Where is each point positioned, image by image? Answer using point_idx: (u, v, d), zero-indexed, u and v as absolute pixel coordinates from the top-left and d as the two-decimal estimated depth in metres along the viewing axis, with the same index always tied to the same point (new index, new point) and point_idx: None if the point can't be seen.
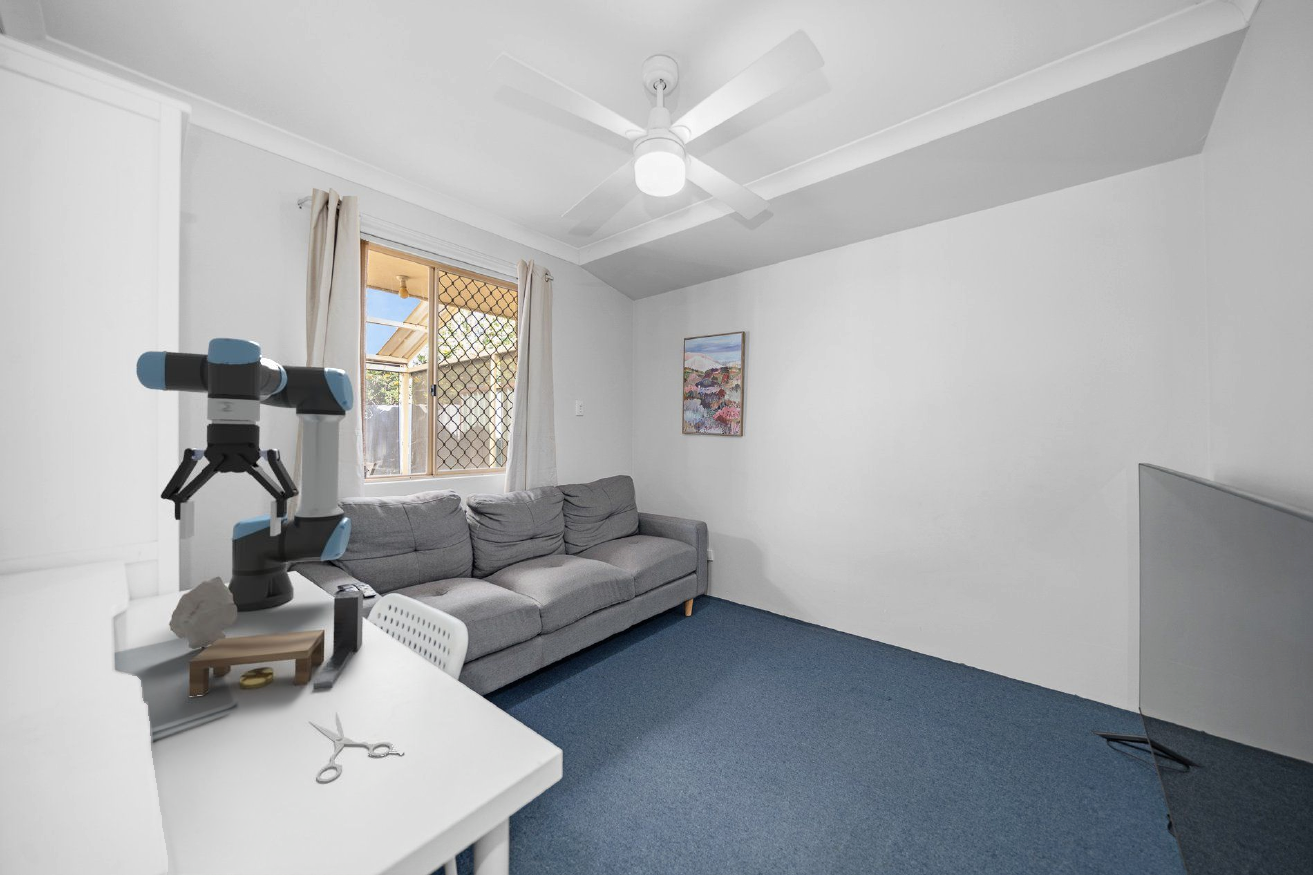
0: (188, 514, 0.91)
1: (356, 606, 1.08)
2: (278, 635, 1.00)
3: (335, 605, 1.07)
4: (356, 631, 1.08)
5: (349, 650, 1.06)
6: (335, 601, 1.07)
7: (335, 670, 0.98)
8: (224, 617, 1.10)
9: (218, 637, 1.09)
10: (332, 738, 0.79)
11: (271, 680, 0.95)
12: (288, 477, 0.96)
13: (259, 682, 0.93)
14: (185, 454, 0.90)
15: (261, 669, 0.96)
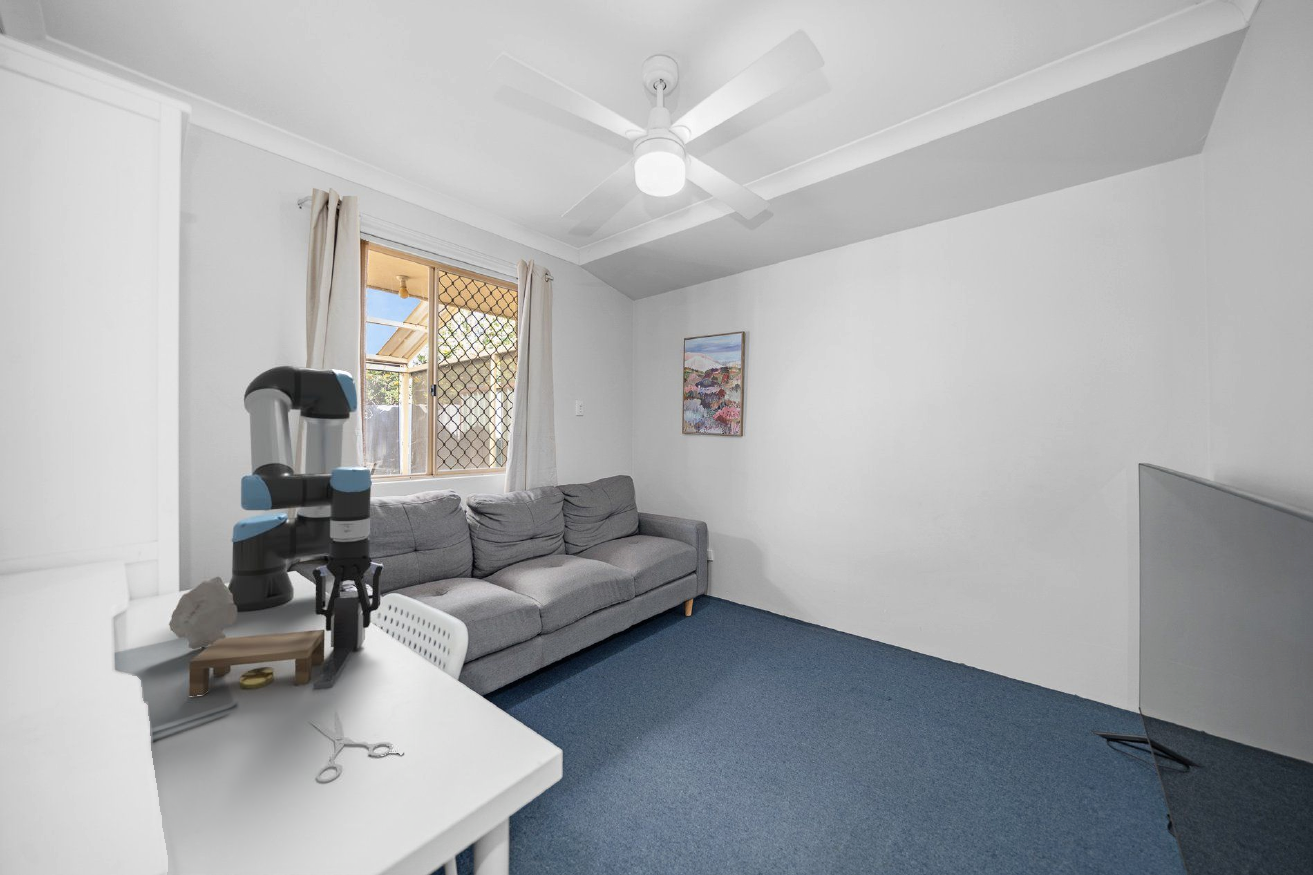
0: None
1: (356, 606, 1.08)
2: (278, 635, 1.00)
3: (335, 605, 1.07)
4: (356, 631, 1.08)
5: (349, 650, 1.06)
6: (335, 601, 1.07)
7: (335, 670, 0.98)
8: (224, 617, 1.10)
9: (218, 637, 1.09)
10: (332, 738, 0.79)
11: (271, 680, 0.95)
12: (379, 591, 1.12)
13: (260, 682, 0.93)
14: (314, 575, 1.06)
15: (261, 669, 0.96)
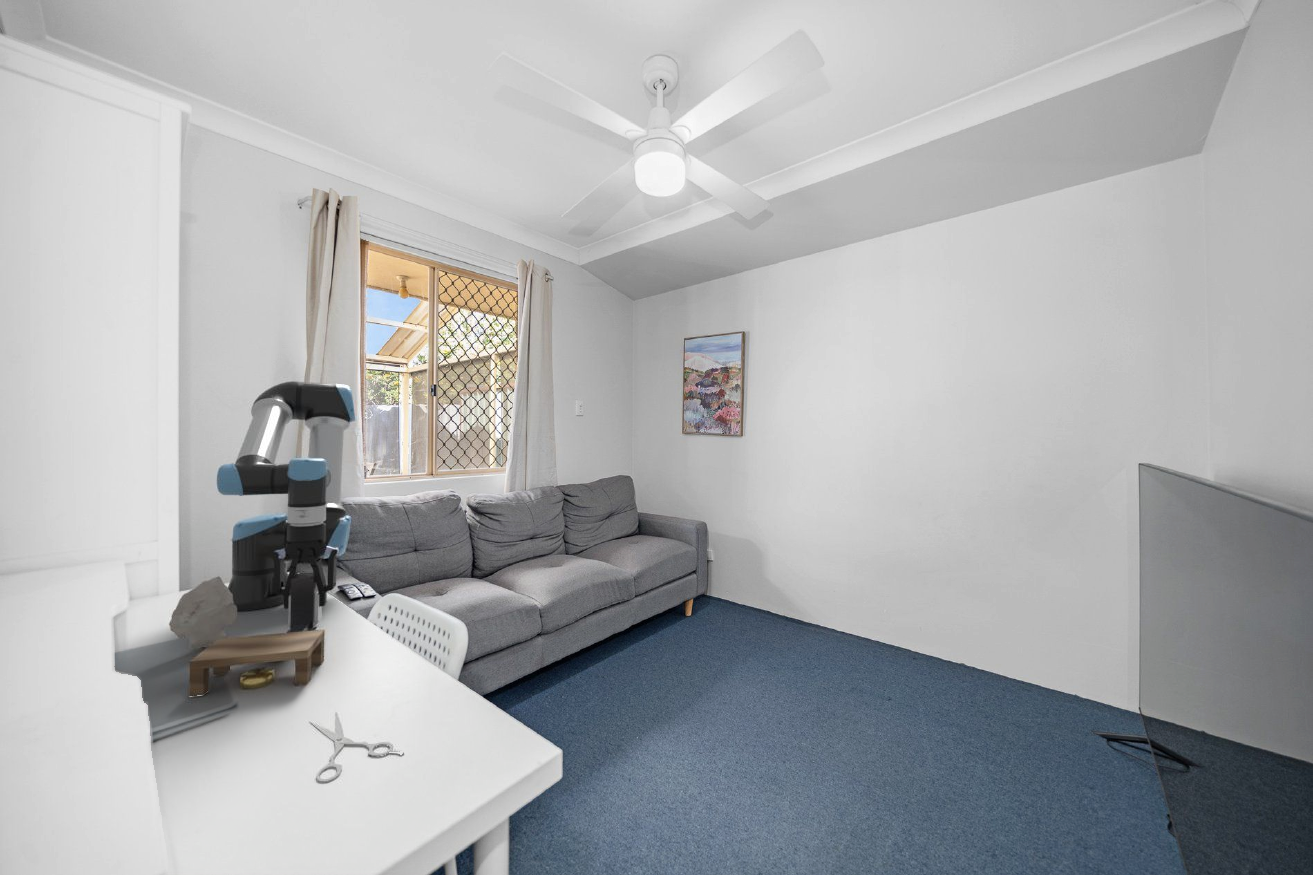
0: None
1: (312, 586, 1.17)
2: (278, 635, 1.00)
3: (292, 585, 1.16)
4: (312, 609, 1.17)
5: (305, 626, 1.15)
6: (292, 581, 1.16)
7: None
8: (224, 617, 1.10)
9: (218, 637, 1.09)
10: (332, 738, 0.79)
11: (271, 680, 0.95)
12: (335, 572, 1.21)
13: (260, 681, 0.93)
14: (273, 557, 1.15)
15: (261, 669, 0.96)
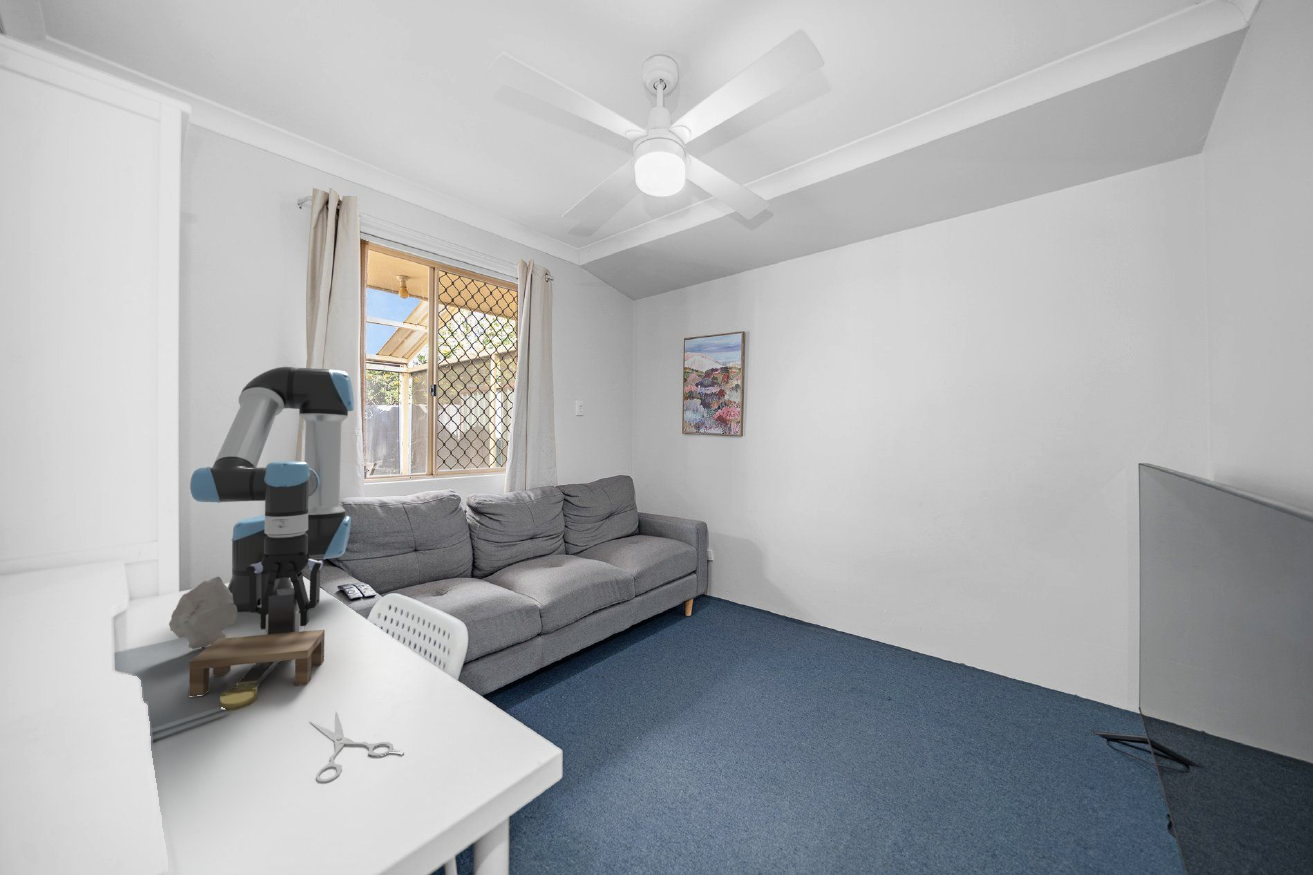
0: None
1: (292, 604, 1.05)
2: (278, 635, 1.00)
3: (269, 603, 1.04)
4: (292, 629, 1.05)
5: None
6: (269, 598, 1.04)
7: (263, 669, 0.95)
8: (224, 617, 1.10)
9: (218, 637, 1.09)
10: (332, 738, 0.79)
11: (254, 699, 0.88)
12: (318, 588, 1.09)
13: (241, 701, 0.86)
14: (248, 572, 1.03)
15: (243, 686, 0.89)
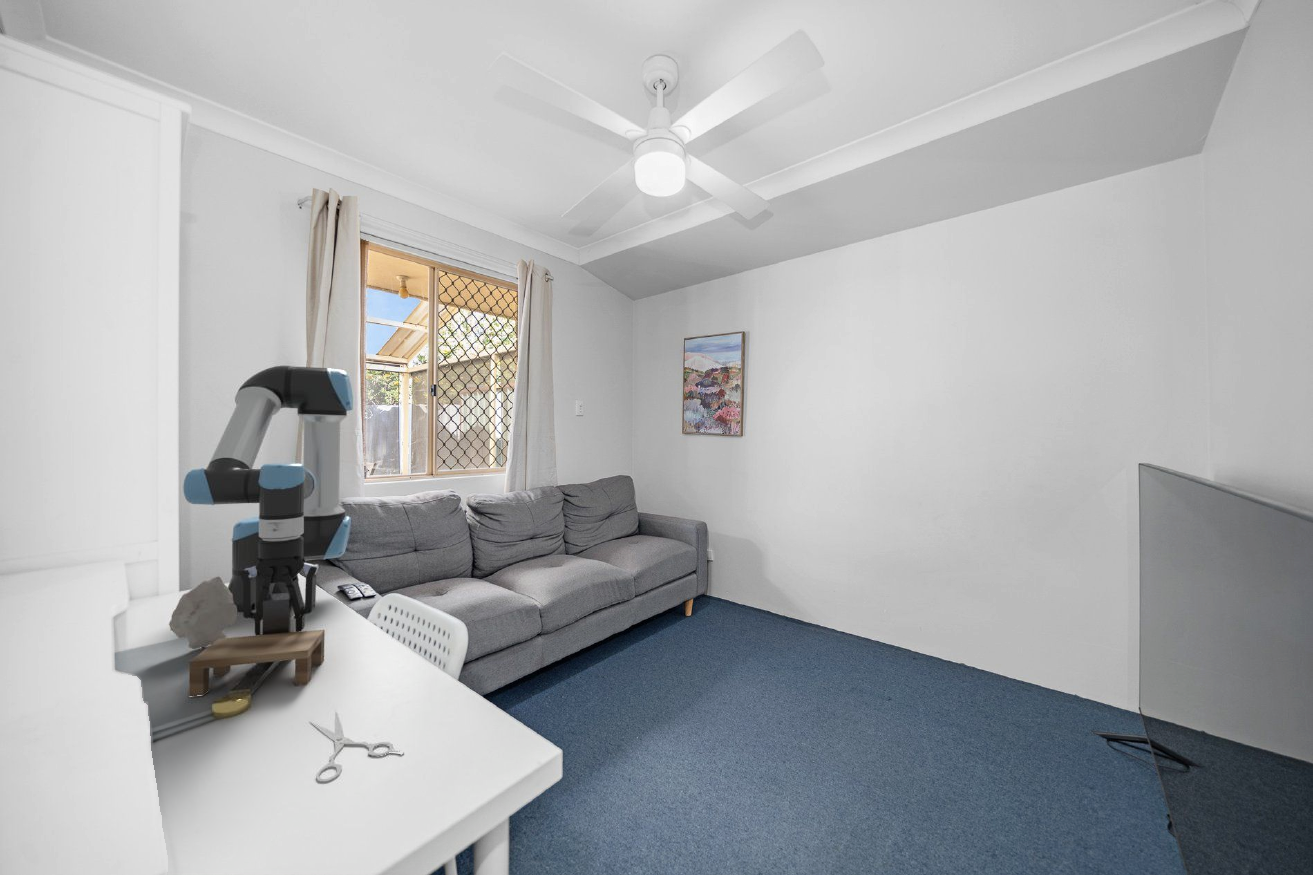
0: None
1: (287, 609, 1.03)
2: (278, 635, 1.00)
3: (264, 608, 1.01)
4: None
5: None
6: (264, 604, 1.01)
7: (257, 677, 0.92)
8: (224, 617, 1.10)
9: (218, 637, 1.09)
10: (332, 738, 0.79)
11: (247, 708, 0.86)
12: (314, 593, 1.06)
13: (233, 710, 0.84)
14: (242, 576, 1.01)
15: (236, 695, 0.87)
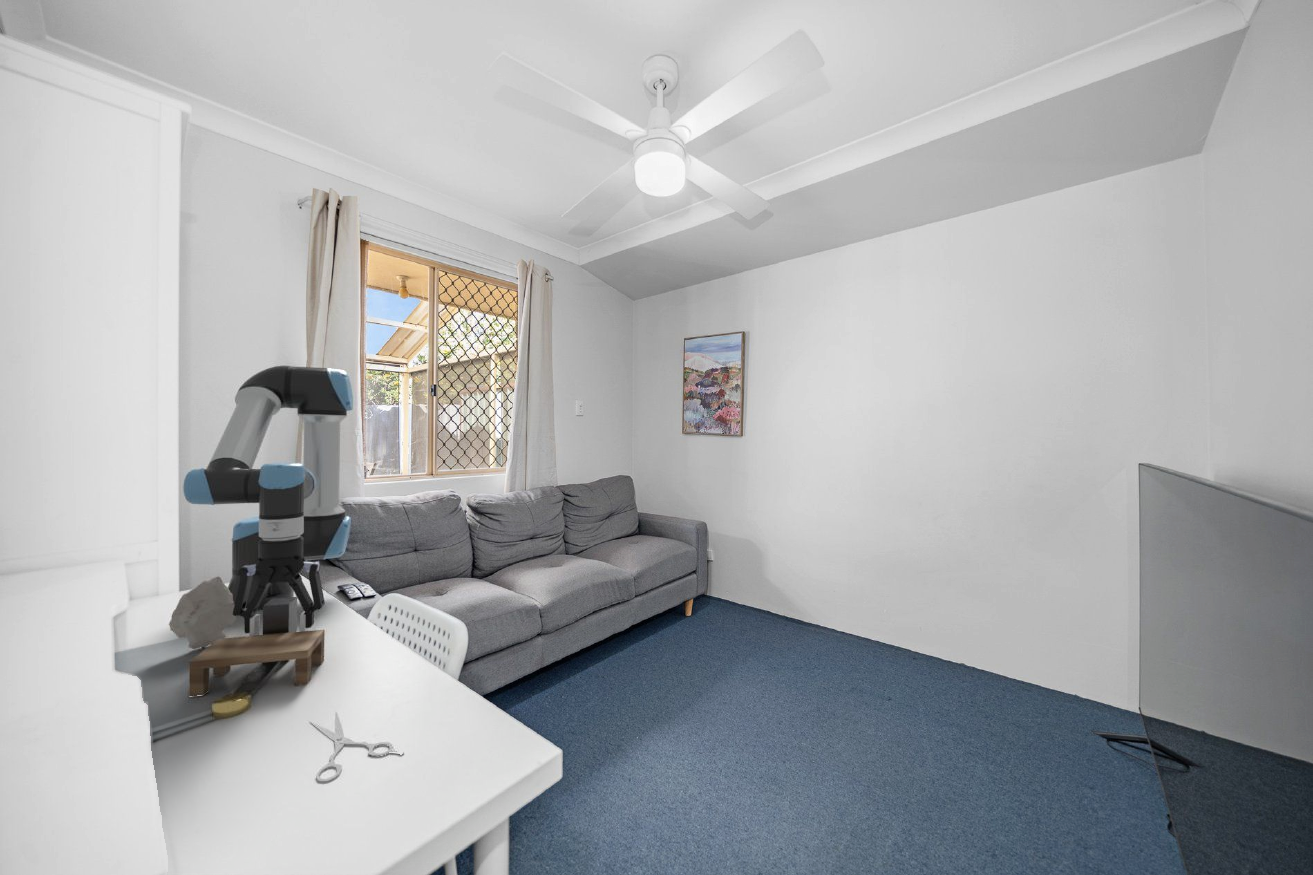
0: (256, 627, 1.03)
1: (287, 614, 1.03)
2: (278, 635, 1.00)
3: (264, 613, 1.01)
4: None
5: None
6: (264, 608, 1.01)
7: (256, 682, 0.92)
8: (224, 617, 1.10)
9: (218, 637, 1.09)
10: (332, 738, 0.79)
11: (247, 708, 0.86)
12: (320, 589, 1.07)
13: (233, 710, 0.84)
14: (240, 573, 1.01)
15: (236, 695, 0.87)
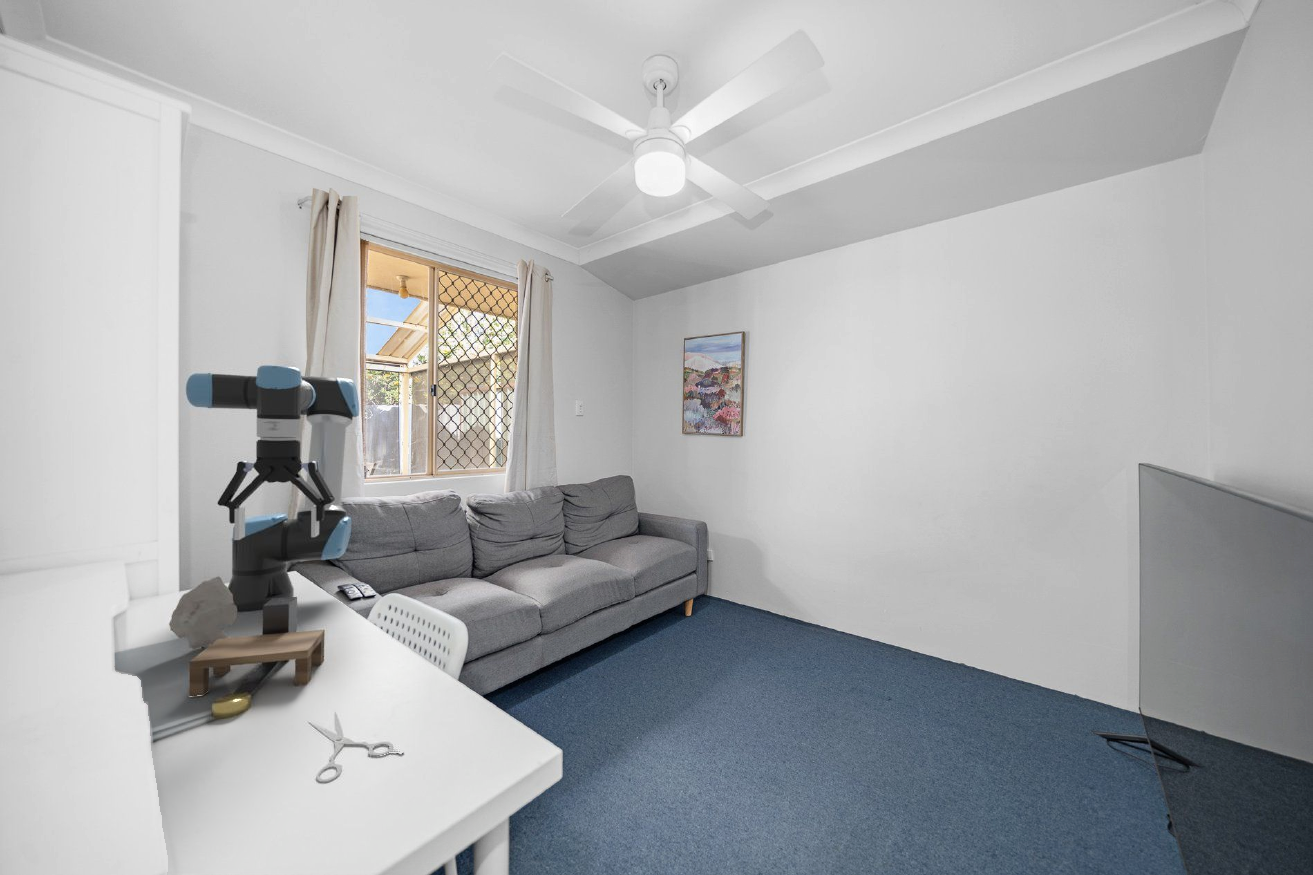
0: (240, 518, 1.05)
1: (287, 614, 1.03)
2: (278, 635, 1.00)
3: (264, 613, 1.01)
4: None
5: None
6: (264, 608, 1.01)
7: (256, 682, 0.92)
8: (224, 617, 1.10)
9: (218, 637, 1.09)
10: (331, 738, 0.79)
11: (247, 708, 0.86)
12: (325, 486, 1.10)
13: (233, 710, 0.84)
14: (238, 466, 1.03)
15: (236, 695, 0.87)
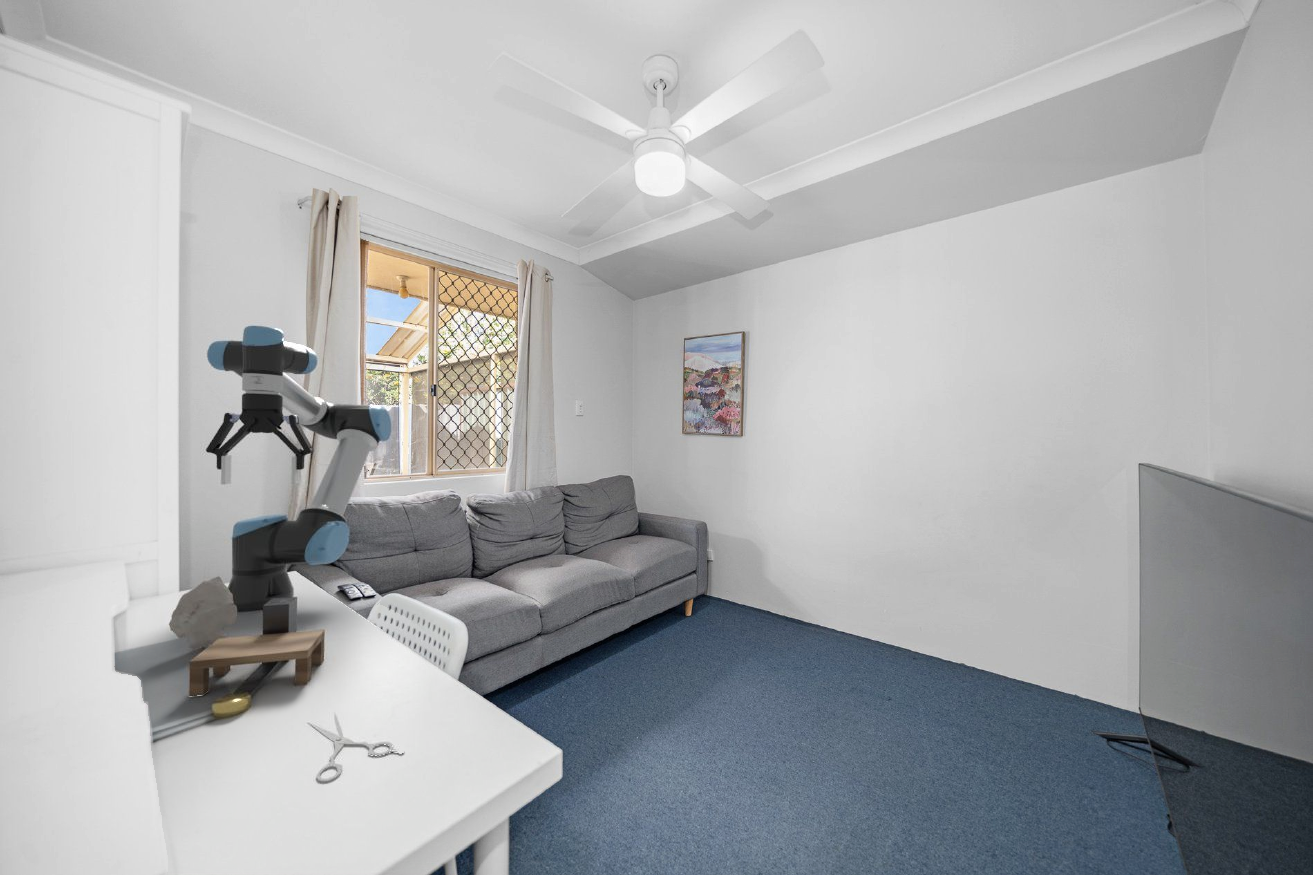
0: (227, 465, 1.15)
1: (287, 614, 1.03)
2: (278, 635, 1.00)
3: (264, 613, 1.01)
4: None
5: None
6: (264, 608, 1.01)
7: (256, 682, 0.92)
8: (224, 617, 1.10)
9: (218, 637, 1.09)
10: (331, 738, 0.78)
11: (247, 708, 0.86)
12: (305, 438, 1.20)
13: (233, 710, 0.84)
14: (225, 417, 1.14)
15: (236, 695, 0.87)
